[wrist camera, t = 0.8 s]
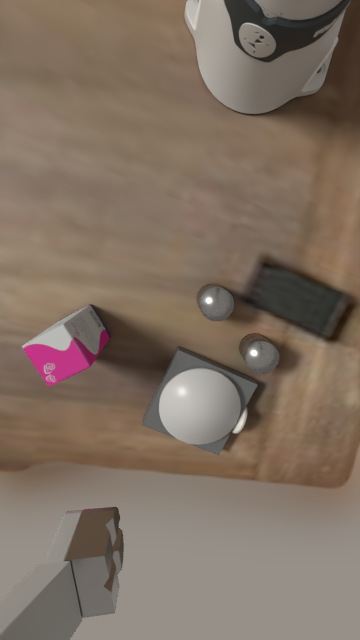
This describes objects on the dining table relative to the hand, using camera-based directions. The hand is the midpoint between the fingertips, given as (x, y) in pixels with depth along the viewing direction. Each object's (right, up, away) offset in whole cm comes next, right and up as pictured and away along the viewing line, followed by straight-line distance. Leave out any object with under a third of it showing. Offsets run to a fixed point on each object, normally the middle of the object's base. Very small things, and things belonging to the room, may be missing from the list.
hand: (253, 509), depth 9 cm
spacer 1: (+2, +9, +36) cm, 37 cm away
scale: (+1, -7, +40) cm, 41 cm away
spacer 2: (+9, +2, +38) cm, 39 cm away
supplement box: (-16, +4, +37) cm, 40 cm away
